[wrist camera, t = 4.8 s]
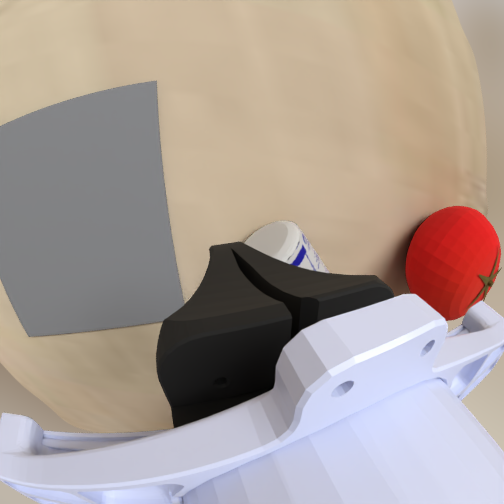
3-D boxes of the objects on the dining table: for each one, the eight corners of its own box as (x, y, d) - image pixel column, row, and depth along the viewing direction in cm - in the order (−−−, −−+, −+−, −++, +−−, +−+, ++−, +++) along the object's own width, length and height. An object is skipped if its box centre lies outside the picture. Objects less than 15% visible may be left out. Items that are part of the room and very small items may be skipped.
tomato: (458, 233, 31) (516, 267, 22) (405, 303, 33) (458, 351, 24) (437, 172, 25) (515, 203, 16) (371, 257, 27) (446, 316, 18)
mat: (186, 314, 24) (187, 317, 23) (29, 334, 20) (28, 336, 19) (156, 81, 15) (156, 80, 15) (-30, 142, 11) (-32, 143, 11)
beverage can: (285, 269, 16) (361, 363, 24) (303, 207, 20) (368, 314, 27) (219, 280, 20) (311, 363, 27) (245, 226, 23) (322, 318, 31)
